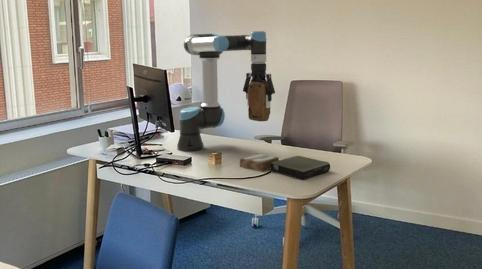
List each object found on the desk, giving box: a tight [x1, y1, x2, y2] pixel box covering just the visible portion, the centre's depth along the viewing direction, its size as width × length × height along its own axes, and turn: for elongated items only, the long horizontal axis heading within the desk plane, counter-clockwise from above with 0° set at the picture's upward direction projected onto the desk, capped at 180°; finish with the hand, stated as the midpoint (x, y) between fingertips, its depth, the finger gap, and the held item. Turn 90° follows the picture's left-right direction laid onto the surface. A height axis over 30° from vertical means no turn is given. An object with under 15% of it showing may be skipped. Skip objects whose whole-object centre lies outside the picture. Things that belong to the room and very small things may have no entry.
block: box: [247, 81, 271, 122], centre depth 266 cm, size 11×8×20 cm
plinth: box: [239, 153, 279, 172], centre depth 268 cm, size 14×14×4 cm
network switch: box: [270, 155, 331, 181], centre depth 258 cm, size 23×24×5 cm
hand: (258, 106), depth 267 cm, fingers closed on block, 11 cm apart
